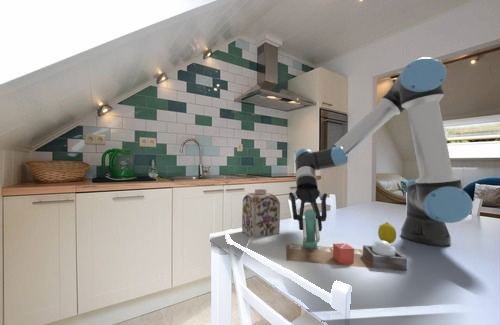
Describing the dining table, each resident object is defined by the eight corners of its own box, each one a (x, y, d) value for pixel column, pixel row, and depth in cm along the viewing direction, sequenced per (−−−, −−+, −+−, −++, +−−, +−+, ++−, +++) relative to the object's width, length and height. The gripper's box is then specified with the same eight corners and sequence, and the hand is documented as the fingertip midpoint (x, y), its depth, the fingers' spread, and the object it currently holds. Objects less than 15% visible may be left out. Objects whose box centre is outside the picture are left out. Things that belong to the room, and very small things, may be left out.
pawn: (315, 244, 72) (316, 208, 72) (318, 249, 67) (318, 211, 68) (302, 243, 72) (302, 207, 73) (303, 248, 68) (303, 210, 68)
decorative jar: (252, 240, 79) (253, 191, 79) (241, 231, 90) (241, 188, 90) (280, 236, 84) (281, 190, 84) (266, 228, 95) (267, 187, 95)
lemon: (399, 248, 75) (399, 225, 75) (381, 246, 76) (381, 223, 76) (391, 242, 80) (392, 221, 80) (375, 241, 81) (375, 219, 81)
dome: (389, 254, 63) (389, 238, 63) (399, 262, 58) (399, 245, 58) (368, 252, 64) (369, 236, 64) (376, 260, 59) (377, 243, 59)
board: (384, 254, 69) (384, 241, 69) (407, 275, 56) (408, 259, 56) (285, 247, 74) (286, 234, 74) (286, 264, 61) (286, 249, 61)
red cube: (345, 256, 64) (346, 243, 64) (353, 263, 60) (354, 248, 60) (332, 257, 64) (333, 243, 64) (340, 263, 60) (340, 248, 60)
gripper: (327, 187, 84) (337, 246, 68) (284, 186, 87) (284, 243, 70) (330, 174, 79) (341, 235, 62) (284, 174, 81) (284, 232, 65)
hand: (311, 239), depth 66 cm, fingers closed on pawn, 3 cm apart
